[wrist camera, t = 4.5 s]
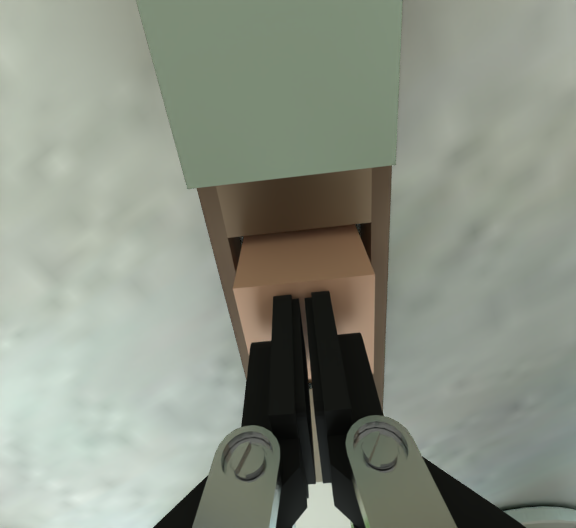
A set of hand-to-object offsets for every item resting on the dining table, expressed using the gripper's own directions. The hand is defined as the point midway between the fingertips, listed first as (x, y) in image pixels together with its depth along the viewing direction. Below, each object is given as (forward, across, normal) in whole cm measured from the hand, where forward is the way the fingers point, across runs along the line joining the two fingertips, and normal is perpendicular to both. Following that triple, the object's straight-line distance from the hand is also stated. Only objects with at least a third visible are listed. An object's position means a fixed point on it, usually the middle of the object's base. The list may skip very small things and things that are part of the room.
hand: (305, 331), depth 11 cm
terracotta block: (+4, 0, 0) cm, 4 cm away
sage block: (+3, 0, -7) cm, 8 cm away
